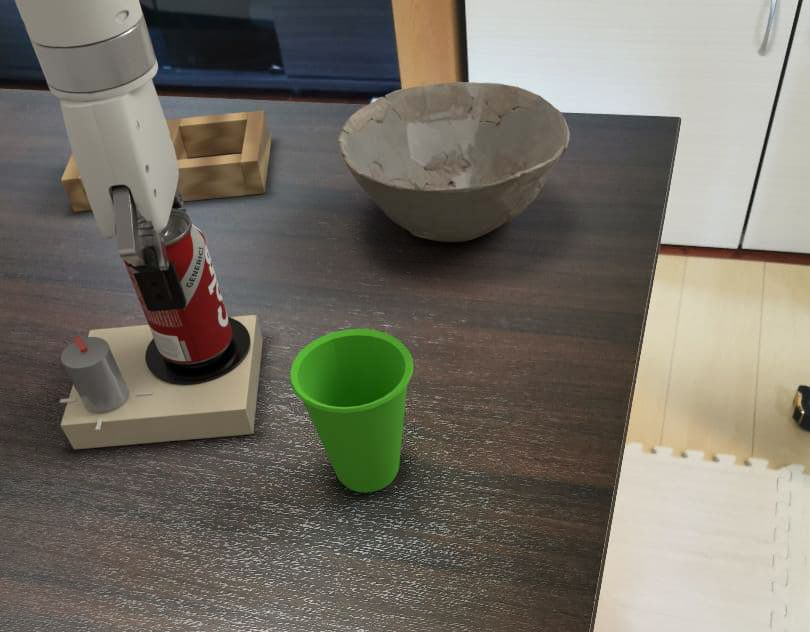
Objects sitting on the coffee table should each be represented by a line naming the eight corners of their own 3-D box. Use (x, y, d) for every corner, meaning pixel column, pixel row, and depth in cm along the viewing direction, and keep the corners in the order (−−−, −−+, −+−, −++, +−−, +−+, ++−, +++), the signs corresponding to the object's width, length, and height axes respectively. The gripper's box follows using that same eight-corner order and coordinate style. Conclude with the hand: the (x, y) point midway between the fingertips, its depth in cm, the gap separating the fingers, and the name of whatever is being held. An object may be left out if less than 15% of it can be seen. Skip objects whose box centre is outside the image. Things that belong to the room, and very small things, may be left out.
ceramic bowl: (571, 276, 84) (579, 181, 76) (342, 287, 86) (327, 195, 78) (554, 163, 97) (559, 72, 89) (357, 175, 99) (346, 87, 91)
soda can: (185, 381, 73) (141, 261, 64) (146, 347, 77) (99, 228, 67) (248, 345, 76) (215, 224, 66) (208, 313, 79) (170, 194, 70)
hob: (64, 459, 73) (49, 433, 71) (95, 355, 82) (82, 328, 79) (252, 443, 73) (244, 416, 70) (263, 339, 81) (256, 312, 79)
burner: (138, 389, 74) (137, 387, 73) (154, 321, 80) (153, 319, 79) (246, 380, 73) (245, 377, 73) (254, 312, 79) (253, 309, 79)
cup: (336, 527, 66) (313, 426, 57) (299, 454, 71) (273, 351, 63) (440, 488, 68) (433, 383, 59) (396, 419, 73) (384, 314, 64)
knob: (135, 400, 73) (114, 352, 68) (91, 419, 72) (67, 371, 67) (120, 376, 75) (98, 327, 71) (77, 394, 74) (53, 345, 70)
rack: (74, 212, 99) (60, 179, 96) (94, 159, 107) (82, 128, 104) (264, 193, 98) (257, 160, 95) (271, 142, 106) (264, 109, 103)
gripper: (69, 9, 62) (145, 228, 76) (9, 120, 51) (112, 350, 65) (168, -1, 62) (227, 220, 76) (130, 108, 51) (207, 342, 65)
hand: (173, 279), depth 71 cm, fingers closed on soda can, 6 cm apart
